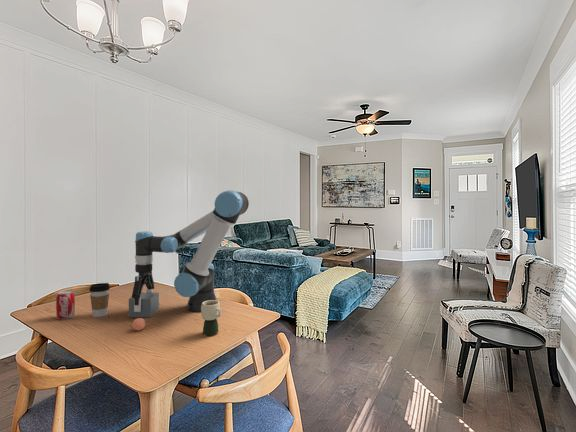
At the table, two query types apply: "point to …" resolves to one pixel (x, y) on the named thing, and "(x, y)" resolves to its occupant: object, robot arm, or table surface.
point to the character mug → (210, 316)
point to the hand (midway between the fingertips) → (143, 306)
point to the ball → (138, 324)
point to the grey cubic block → (145, 305)
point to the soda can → (65, 305)
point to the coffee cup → (99, 299)
